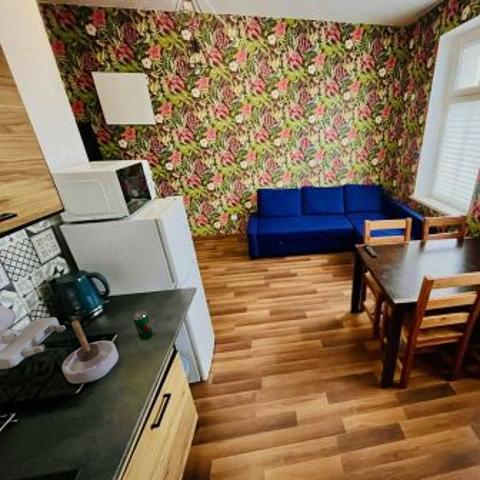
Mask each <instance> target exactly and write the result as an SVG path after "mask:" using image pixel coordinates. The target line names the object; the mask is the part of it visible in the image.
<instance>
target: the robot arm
mask: <svg viewBox="0 0 480 480" xmlns="http://www.w3.org/2000/svg"><path fill="white" fill-rule="evenodd" d="M15 321H16V312H15V311H14V310H13V309H12V308H9V307H7V306H4V305H1V304H0V370H5V369H11V368H14V367H16V366H17V365H19V364H20V363H21V361H23V360H24V359H25V358H26V357H30V356H33V355H35V354H37V353H38V354H39V353H42V352H44V351H45V350H46V348H47V347H46V346H45V344H41V343H42V342H44V340H45V339H46V338H47V337H48V336H50V334H51V333H52V332H57V333H63V332H64V331H65V330H66V329H67V328H66V326H65V325H61V324H60V322H59V320H58V318H57V317H54V316H53V317H52V316H51V317H45V318H40V319H36V320H32V321H31V322H29V323H28V324H27V325H25V326H24V327H23V328H22V329H19V328H12V327H13V325H14V323H15Z"/></svg>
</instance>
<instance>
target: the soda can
mask: <svg viewBox="0 0 480 480" xmlns="http://www.w3.org/2000/svg"><path fill="white" fill-rule="evenodd" d="M132 317H133V318H132V320H133V322H134V325H135V329H136V331H137V332H136V333H137V335H138V338H139V339H140V340H142V341H146V340H149V339H150V338H152V337H153V335H154V331H153V328H152V324H151V322H150V318H149V315H148V312H146V311H145V310H140V311H137V312H135V313H134V314H133V316H132Z"/></svg>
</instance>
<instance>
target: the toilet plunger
mask: <svg viewBox="0 0 480 480" xmlns="http://www.w3.org/2000/svg"><path fill="white" fill-rule="evenodd" d="M71 325H72V328H73V330H74V332H75V335H76V337H77V339H78V341H79V343H80V346H81V347H82V348H81V347H80V348H81V349H79V348H78V349H79V350H78V349H77V350H78V351H77V353H76V355H77V357H78V360H79V361H80V362H86V361H89V360H92V359H93V358H95V357H96V356H97V355H98V354H99V353H100V350H99V348H98V345H97V344H90V343H89V342H88V340H87V338H86V335H85V333H84V330H83V328H82V325H81V323H80V321H79V320H78V319H77V320H73V321H72V322H71Z"/></svg>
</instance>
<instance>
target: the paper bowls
mask: <svg viewBox="0 0 480 480" xmlns="http://www.w3.org/2000/svg"><path fill="white" fill-rule="evenodd" d="M89 344H97V345H98V348H99V350H100V353H99V354H98V355H97V356H96V357H95V358H93V359H92V360H89V361H86V362H80V361H79V360H78V357H77V355H76V353H77V351H78V350H79V349H81V348H82V346H81V347H79V348H78V349H76V350H74V351H73V352H71V353H70V354H69V355H68V356H67V357H66V358H65V359H64V361H63V363H62V365H61V371H62V373H63V375H64V377H65V378H66V380H67V381H68V383H71V384H77V385H78V384H82V383H84V384H85V383H91V382H94V381H96V380H99V379H101V378H102V377H104V376H105V375H107V374H108V373H109V372H110V371H111V369H112V368H113V367H114V366H115V365H116V364H117V362H118V361H119V353H118V349H117V347H116V345H115V343H114V342H113V341H110V340H98V341H94V342H89Z"/></svg>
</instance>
